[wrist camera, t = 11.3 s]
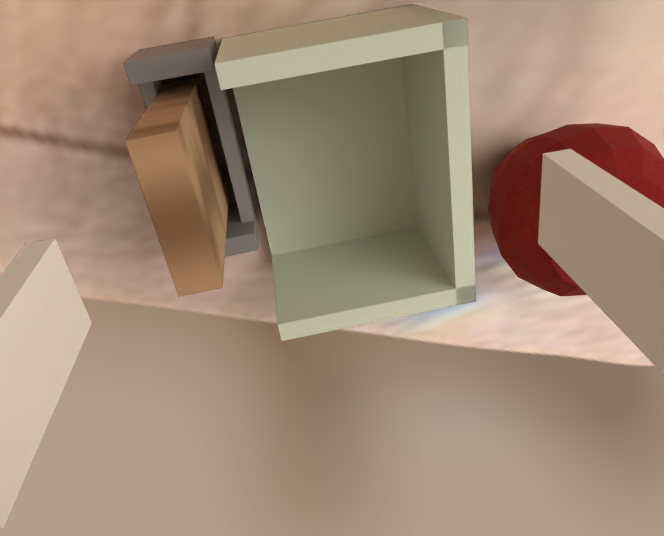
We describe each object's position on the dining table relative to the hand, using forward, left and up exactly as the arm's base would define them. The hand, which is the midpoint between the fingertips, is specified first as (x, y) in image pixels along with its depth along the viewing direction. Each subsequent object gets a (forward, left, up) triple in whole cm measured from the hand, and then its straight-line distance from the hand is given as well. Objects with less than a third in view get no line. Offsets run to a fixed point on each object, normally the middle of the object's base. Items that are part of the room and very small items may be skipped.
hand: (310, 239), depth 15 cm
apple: (+10, +17, -24) cm, 31 cm away
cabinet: (+5, +1, -24) cm, 25 cm away
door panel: (+3, -6, -24) cm, 25 cm away
